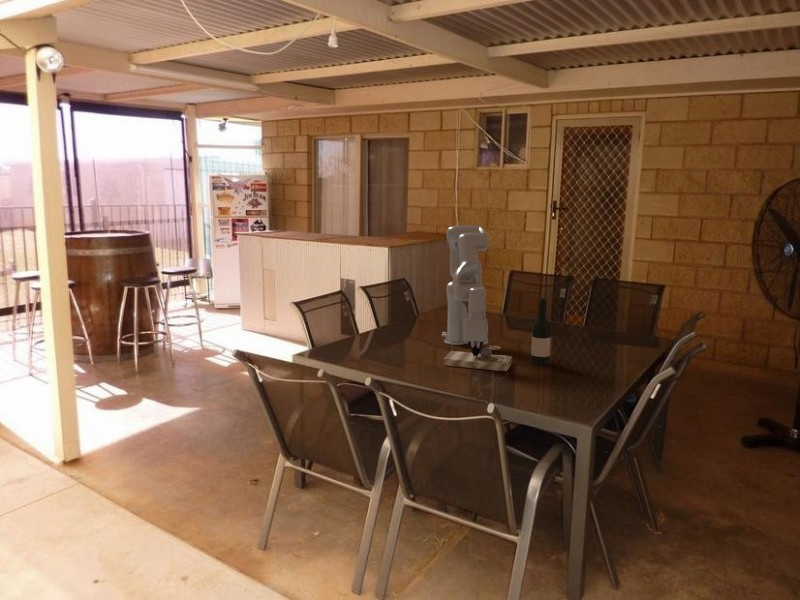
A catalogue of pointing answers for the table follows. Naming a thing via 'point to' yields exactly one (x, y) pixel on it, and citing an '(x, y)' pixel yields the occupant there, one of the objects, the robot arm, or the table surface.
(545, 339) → the wine bottle
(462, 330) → the robot arm
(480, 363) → the beige flat board
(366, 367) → the table surface
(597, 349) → the table surface
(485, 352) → the ball
